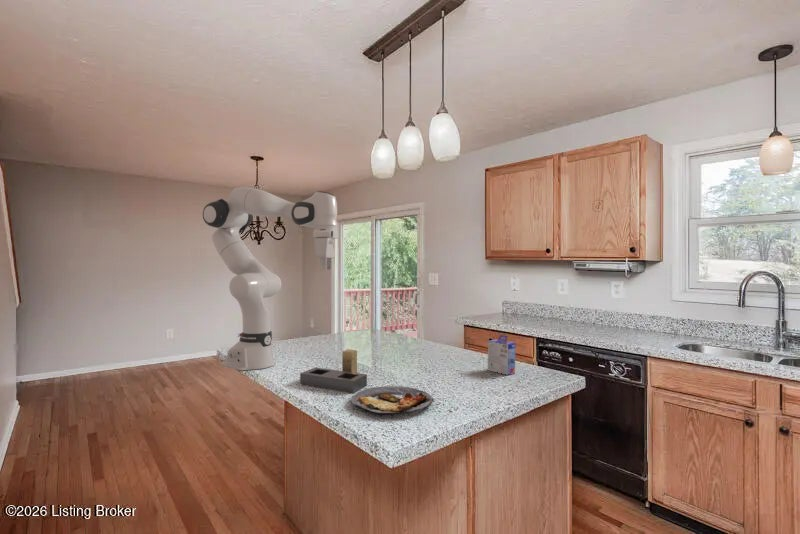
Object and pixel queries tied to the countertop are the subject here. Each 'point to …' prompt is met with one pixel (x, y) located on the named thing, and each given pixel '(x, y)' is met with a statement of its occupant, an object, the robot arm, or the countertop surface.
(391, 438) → the countertop surface
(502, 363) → the ink cartridge box
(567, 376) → the countertop surface
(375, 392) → the food plate
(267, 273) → the robot arm
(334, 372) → the grey peg hole block
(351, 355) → the square peg
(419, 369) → the countertop surface
